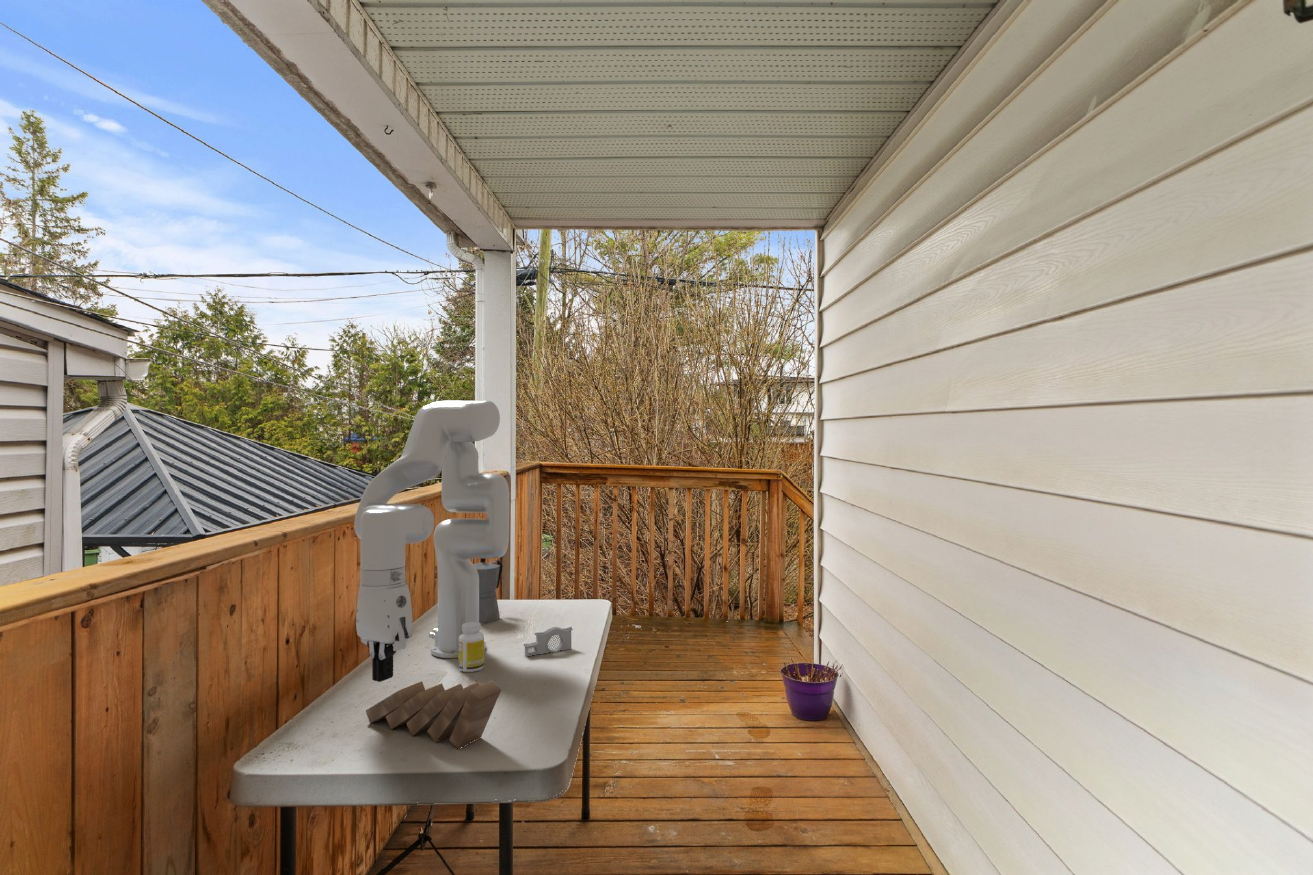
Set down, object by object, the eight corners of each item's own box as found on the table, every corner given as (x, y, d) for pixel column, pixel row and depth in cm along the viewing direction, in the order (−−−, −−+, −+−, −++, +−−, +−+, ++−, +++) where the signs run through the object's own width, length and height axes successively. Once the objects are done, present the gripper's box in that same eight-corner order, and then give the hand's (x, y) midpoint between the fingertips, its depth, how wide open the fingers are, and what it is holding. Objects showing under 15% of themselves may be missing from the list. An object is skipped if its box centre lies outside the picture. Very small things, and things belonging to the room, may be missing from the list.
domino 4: (427, 731, 108) (455, 692, 105) (449, 720, 112) (477, 682, 110) (435, 743, 107) (463, 703, 104) (457, 731, 112) (485, 693, 109)
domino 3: (406, 723, 111) (438, 693, 107) (429, 712, 115) (460, 683, 111) (412, 736, 110) (445, 706, 106) (435, 725, 114) (467, 695, 111)
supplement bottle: (488, 666, 145) (488, 622, 145) (474, 674, 140) (474, 628, 140) (468, 663, 147) (468, 620, 147) (453, 671, 141) (453, 626, 142)
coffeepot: (482, 627, 176) (482, 560, 176) (454, 623, 180) (454, 558, 180) (515, 613, 190) (514, 552, 191) (488, 610, 194) (488, 550, 194)
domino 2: (385, 716, 113) (419, 692, 109) (408, 706, 117) (441, 683, 114) (390, 729, 112) (424, 706, 108) (414, 719, 117) (447, 696, 113)
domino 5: (449, 740, 106) (469, 690, 104) (471, 728, 110) (491, 680, 108) (458, 750, 105) (480, 699, 103) (480, 737, 109) (501, 689, 107)
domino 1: (365, 710, 115) (398, 690, 111) (389, 700, 120) (421, 681, 116) (370, 723, 115) (403, 703, 111) (393, 713, 119) (426, 694, 115)
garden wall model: (525, 658, 150) (525, 632, 150) (523, 656, 152) (523, 630, 152) (573, 649, 157) (573, 624, 157) (569, 647, 158) (569, 623, 158)
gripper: (428, 577, 117) (428, 679, 117) (373, 570, 124) (373, 666, 124) (394, 585, 110) (393, 693, 110) (337, 577, 118) (337, 678, 117)
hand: (382, 678), depth 117 cm, fingers closed
